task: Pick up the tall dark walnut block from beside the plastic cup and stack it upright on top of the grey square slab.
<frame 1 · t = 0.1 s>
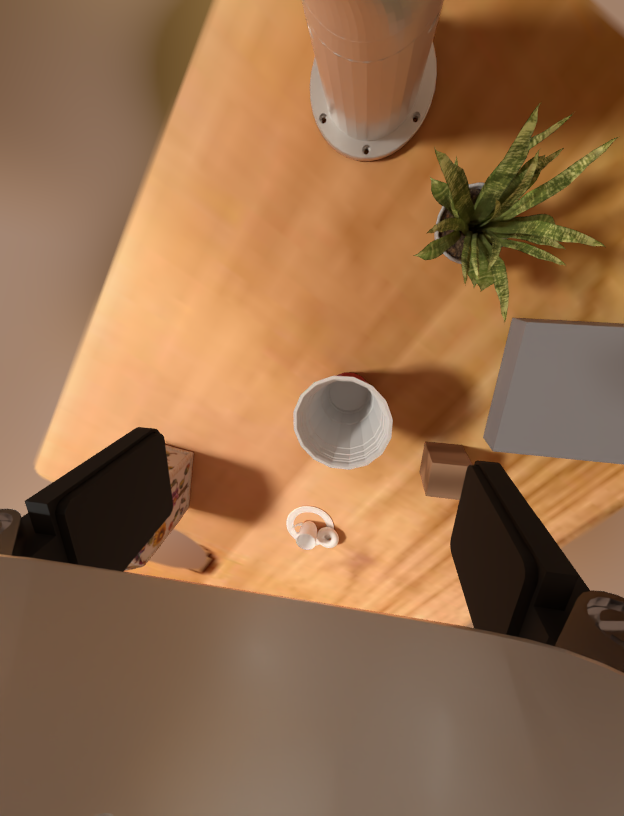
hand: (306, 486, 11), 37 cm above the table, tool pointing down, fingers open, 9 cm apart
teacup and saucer: (312, 537, 59), on the table
walnut block: (440, 458, 49), on the table
plastic cup: (347, 390, 48), on the table
grey square slab: (563, 386, 43), on the table
house plant: (464, 242, 39), on the table
decorative jar: (161, 471, 58), on the table
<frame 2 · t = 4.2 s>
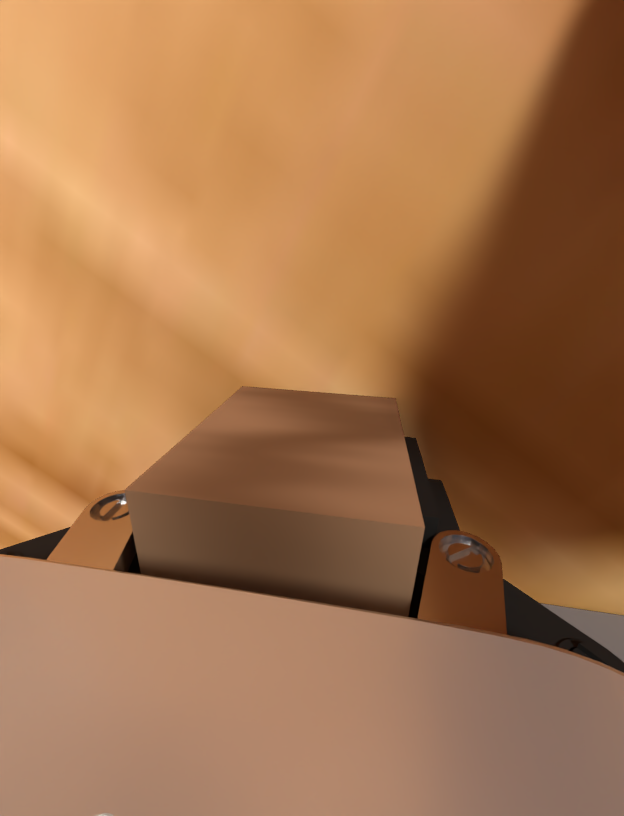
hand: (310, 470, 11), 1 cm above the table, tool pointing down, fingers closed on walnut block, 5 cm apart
walnut block: (314, 460, 12), on the table, touching gripper
grey square slab: (572, 747, 15), on the table
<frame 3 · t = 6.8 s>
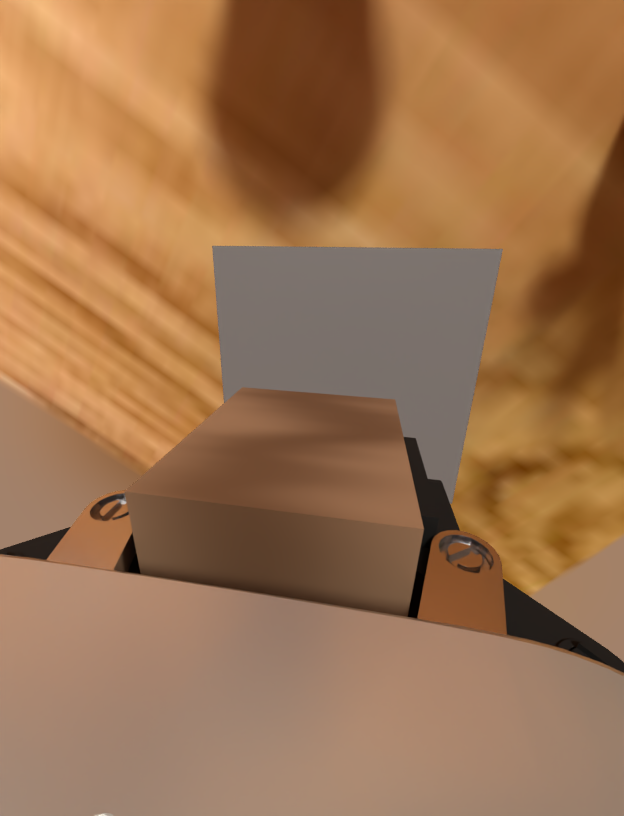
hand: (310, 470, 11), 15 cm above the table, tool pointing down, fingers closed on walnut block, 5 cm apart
walnut block: (313, 460, 12), point 15 cm above the table, touching gripper
grey square slab: (345, 369, 26), on the table
when the fingers open (6 cm above the table, at t = 9.4 s): walnut block drops 1 cm, resting on grey square slab.
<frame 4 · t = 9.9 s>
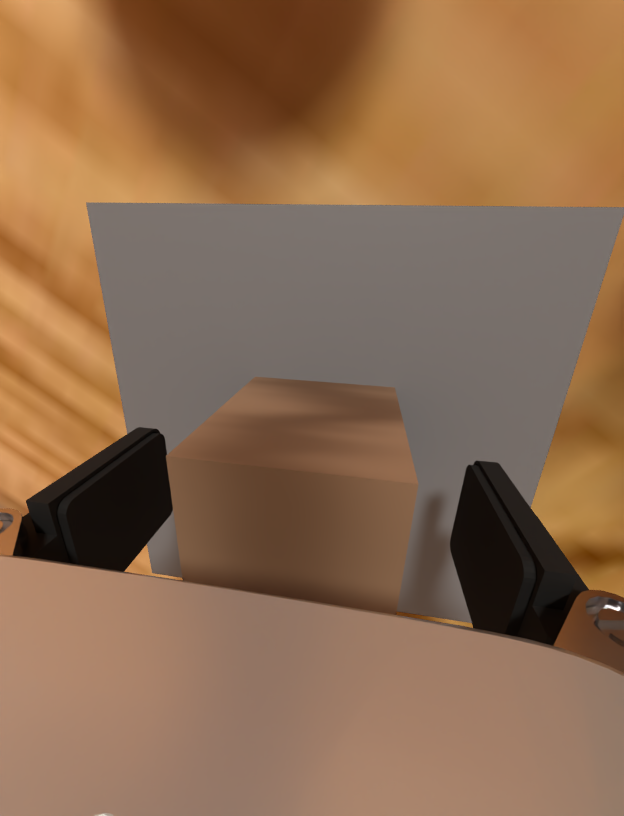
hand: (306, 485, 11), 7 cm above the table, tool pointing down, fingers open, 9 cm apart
walnut block: (320, 444, 13), point 4 cm above the table, touching grey square slab
grey square slab: (329, 407, 17), on the table
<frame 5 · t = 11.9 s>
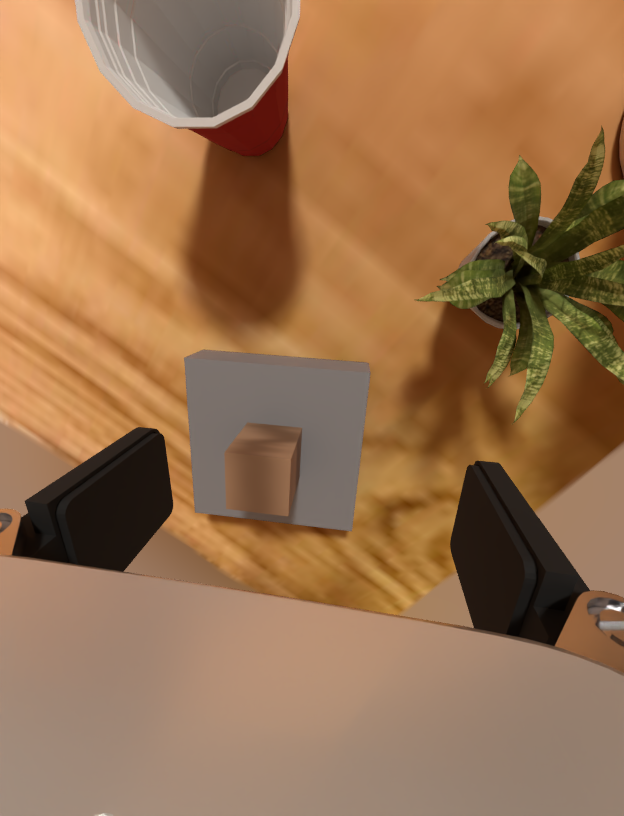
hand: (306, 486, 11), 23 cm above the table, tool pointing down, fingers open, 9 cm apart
walnut block: (274, 450, 32), point 4 cm above the table, touching grey square slab
plastic cup: (253, 111, 27), on the table
grey square slab: (281, 432, 36), on the table
house plant: (471, 288, 29), on the table
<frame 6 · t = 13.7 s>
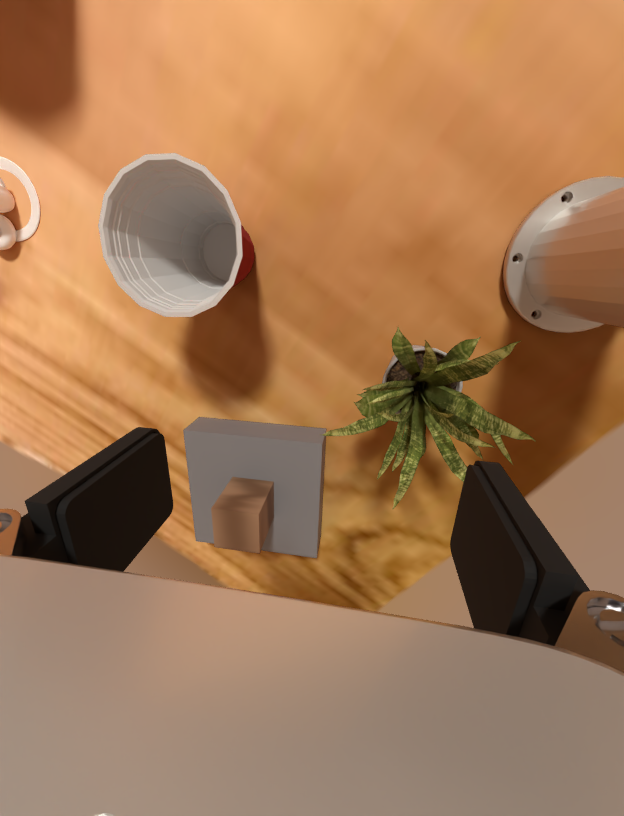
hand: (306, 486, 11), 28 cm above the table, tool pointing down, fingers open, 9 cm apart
walnut block: (253, 497, 41), point 4 cm above the table, touching grey square slab
plastic cup: (230, 251, 36), on the table
grey square slab: (262, 478, 45), on the table
house plant: (402, 376, 38), on the table
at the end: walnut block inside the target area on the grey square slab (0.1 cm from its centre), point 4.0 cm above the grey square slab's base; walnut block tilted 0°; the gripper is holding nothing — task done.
